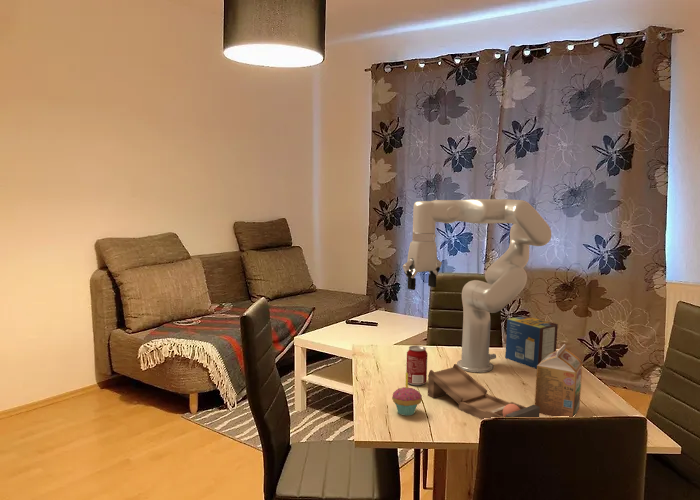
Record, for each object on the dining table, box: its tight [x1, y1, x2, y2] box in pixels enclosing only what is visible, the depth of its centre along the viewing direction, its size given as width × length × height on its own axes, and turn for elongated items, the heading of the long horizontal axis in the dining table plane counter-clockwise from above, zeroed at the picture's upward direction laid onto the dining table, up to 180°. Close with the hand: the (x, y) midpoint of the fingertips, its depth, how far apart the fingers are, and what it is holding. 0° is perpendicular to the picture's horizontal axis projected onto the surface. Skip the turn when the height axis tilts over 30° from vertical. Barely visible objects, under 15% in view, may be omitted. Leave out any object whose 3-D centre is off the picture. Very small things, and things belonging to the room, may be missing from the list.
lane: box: [427, 363, 540, 420], centre depth 167 cm, size 32×12×8 cm, turn 37°
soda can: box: [405, 345, 428, 387], centre depth 187 cm, size 7×7×12 cm
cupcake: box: [391, 369, 423, 416], centre depth 163 cm, size 9×8×12 cm
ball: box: [502, 404, 520, 417], centre depth 158 cm, size 5×5×5 cm
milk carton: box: [534, 343, 584, 417], centre depth 166 cm, size 11×10×19 cm
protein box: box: [504, 315, 559, 370], centre depth 212 cm, size 10×15×16 cm
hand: (421, 287), depth 193 cm, fingers open, 9 cm apart
